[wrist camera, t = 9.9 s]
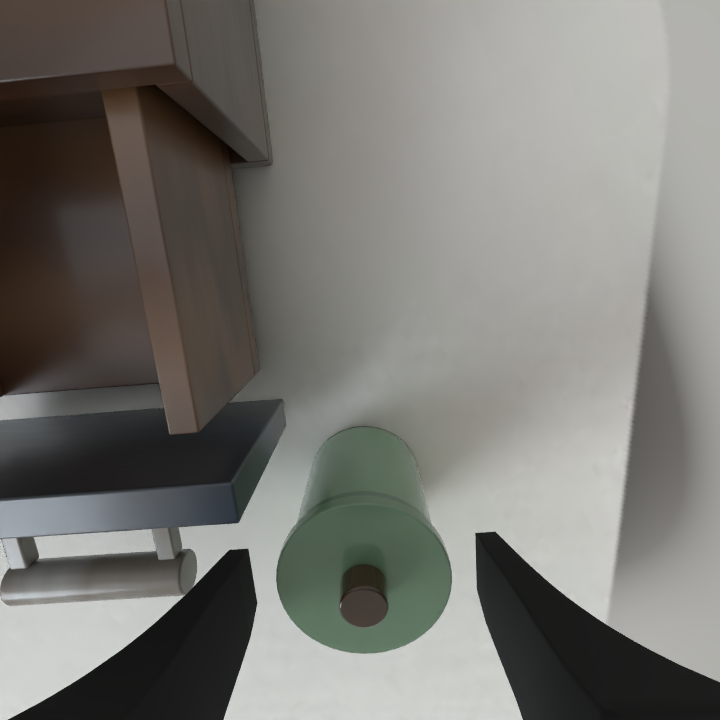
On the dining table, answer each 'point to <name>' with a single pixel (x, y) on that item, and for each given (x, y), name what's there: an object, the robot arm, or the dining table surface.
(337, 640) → the pot
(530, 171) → the dining table surface
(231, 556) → the robot arm
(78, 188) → the drawer
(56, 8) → the cabinet
